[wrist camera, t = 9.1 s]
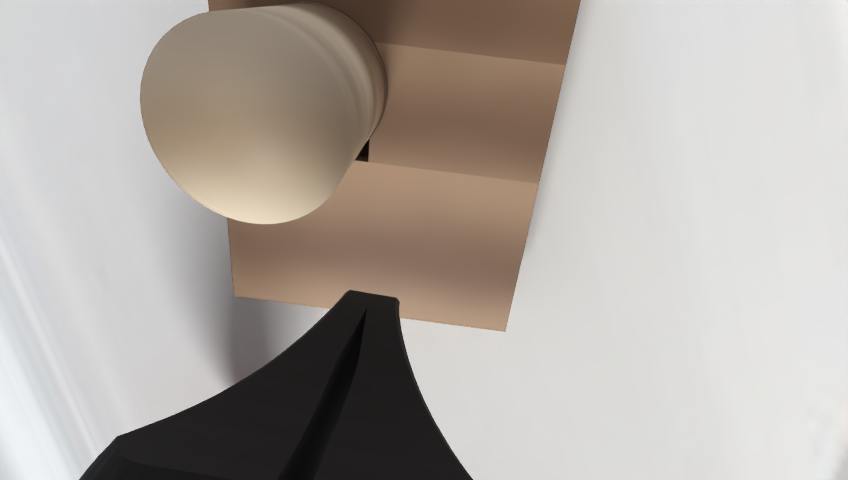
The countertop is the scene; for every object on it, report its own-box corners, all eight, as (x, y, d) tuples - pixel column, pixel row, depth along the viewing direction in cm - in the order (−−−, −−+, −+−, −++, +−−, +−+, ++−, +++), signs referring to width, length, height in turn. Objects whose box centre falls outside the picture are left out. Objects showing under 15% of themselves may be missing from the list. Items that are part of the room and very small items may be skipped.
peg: (263, -10, 18) (122, -9, 11) (403, 10, 18) (361, 26, 11) (266, 129, 21) (152, 210, 13) (390, 148, 21) (347, 239, 13)
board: (240, -70, 18) (201, -80, 15) (569, -31, 18) (588, -35, 15) (259, 262, 24) (234, 295, 22) (500, 293, 24) (505, 331, 21)
